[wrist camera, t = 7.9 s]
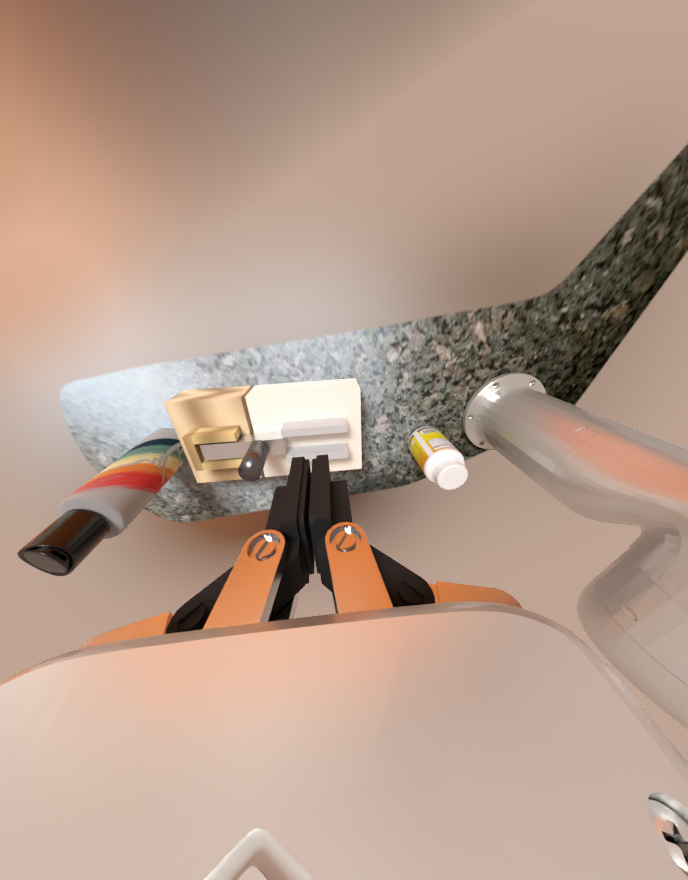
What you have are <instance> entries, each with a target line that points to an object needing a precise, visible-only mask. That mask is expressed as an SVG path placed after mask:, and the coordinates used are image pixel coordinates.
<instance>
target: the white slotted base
mask: <svg viewBox="0 0 688 880" xmlns="http://www.w3.org/2000/svg"><path fill="white" fill-rule="evenodd" d="M245 399H246V403H247V407H248V411H249V415H250V419H251V423H252V427H253V431H254V434H260V433H272V432H281V434H282V437H286V441H287V450H286V454H279V455H268V457H267V459H266V462H265V465H264V468H263V471H264V474H265V477H273V476H284V475H289V471H290V466H291V461H292V458H293V457H305V459H309V462H310V468H311V471H312V459H316V457H317V455H326V454H328V458H329V468H330V471H341V470H353V469H362V451H361V398H360V387H359V385H358V383H357V381H356V378H352V379H338V380H324V381H310V382H296V383H282V384H268V385H255V386H254V387H253V388H252V389H251V391H250V392H249V393H248V394H247V395H246V397H245Z"/></svg>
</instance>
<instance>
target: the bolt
mask: <svg viewBox="0 0 688 880" xmlns="http://www.w3.org/2000/svg"><path fill="white" fill-rule="evenodd" d="M199 446H200V448H201V451H202V454H203V456H204V459H205V461H208V460H220V459H232V458H243V457H244V458H243V460H242V462H241V464H240V466H239V468H238V474H239V476H240V477H241V478H242V479H244V480H246V481H255V480H257V479H259V478H260V476H261V473H262V471H263V468H264V465H265V462H266V459H267V457H268V455H279V454H286V450H287V441H286V437H282V434H281V432H272V433H260V434H247V435H240V436H239V437H238V439H237V441H231V442H219V443H206V444H200V445H199Z"/></svg>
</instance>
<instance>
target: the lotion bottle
mask: <svg viewBox="0 0 688 880" xmlns="http://www.w3.org/2000/svg"><path fill="white" fill-rule="evenodd" d="M186 459H187V457H186V454H185V452H184V450H183V447H182V445H181V443H180V440H179V438H178V436H177V433H176V431H175V429H171V428H163V429H159V430H157V431H155V432H154V433H152V434H151V435H149V436H148V437H147V438H145V439H144V440H143V441H141V442H140V443H139V444H137V445H136V446H135V447H133V448H132V449H131V450H130V451H128V452H127V453H126V454H124V455H123V456H122V457H120V458H119V459H118V460H116V461H115V462H114V463H112V464H111V465H110V466H108V467H107V468H106V469H104V470H103V471H102V472H100V473H99V474H98V475H97V476H95V477H94V478H92V479H91V480H90V481H88V482H87V483H86V484H85V485H83V486H82V487H81V488H79V489H78V490H77V491H75V492H74V493H73V494H71V495H70V496H69V497H68V498H67V499H65V500H64V501H63V502H62V503H61V504H60V506H59V508H58V515H59V518H58V519H57V520H56V521H55V522H53V523H52V524H51V525H50V526H48V527H47V528H46V529H45V530H44V531H42V532H41V533H40V534H39V535H38V536H36V537H35V538H34V539H33V540H31V541H30V542H29V543H28V544H27V545H25V546H24V547H23V548H22V549H21V550H20V551H19V552H18V556H19V558H21V559H22V560H23V561H24V562H26V563H28V564H29V565H31V566H33V567H35V568H37V569H39V570H41V571H44V572H46V573H49V574H52V575H56V576H65V575H68V574H70V573H71V572H72V571H73V570H74V569H75V568H76V567H77V566H78V565H79V564H80V563H81V562H82V560H84V559H85V557H87V556H88V554H89V553H90V552H91V551H92V550H93V549H94V548H95V547H96V546H97V545H98V544H99V543H100V542H101V541H102V540H103V539H106V538H112V537H115V536H117V535H119V534H120V533H122V532H123V531H124V530H125V528H127V527H128V525H129V524H130V523H131V522H132V521H133V520H134V519H135V518H136V517H137V515H138V514H139V513H140V512H141V511H142V510H143V509H144V507H145V506H146V505H147V504H148V503H149V502H150V501H151V499H152V498H153V497H154V496H155V495H156V494H157V493H158V491H159V490H160V489H161V488H162V487H163V486H164V485H165V483H166V482H167V481H168V480H169V479H170V478H171V477H172V475H173V474H174V473H175V472H176V471H177V470H178V469H179V467H180V466H181V465H182V464H183V463H184V462H185V461H186Z"/></svg>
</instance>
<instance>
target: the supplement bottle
mask: <svg viewBox="0 0 688 880" xmlns="http://www.w3.org/2000/svg"><path fill="white" fill-rule="evenodd" d="M408 447H409V450H410V452H411V453H412V455H413V456H414V458H415V460H416V461H417V463H418V465H419V466H420V468H421V469H422V471H423V473H424V474H425V476H426V477H427V478H428V479H429V480H430V481H432V482H433V483H437V484H438V485H439V486H440V487H441V488H443V489H446V490H450V489H455V488H458V487H459V486H461V485H462V484H463V483H464V482H465V481H466V479H467V476H468V473H467V470H466V468H465V467H464V464H465V463H464V458H463V456H462V454H461V453H460V452H459V451H458V450H457V449H456V448H455V447H454V446H453V445H452V444H451V443H450V442H449V441H448V440H447V439H446V438H445V437H444V436H443V435H442V434H441V433H440V431H438V430H437V429H436V428H434V427H429V426H426V427H422V428H419V429H417V430H416V431H414V432H413V433H412V435H411V436H410V438H409V441H408Z"/></svg>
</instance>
